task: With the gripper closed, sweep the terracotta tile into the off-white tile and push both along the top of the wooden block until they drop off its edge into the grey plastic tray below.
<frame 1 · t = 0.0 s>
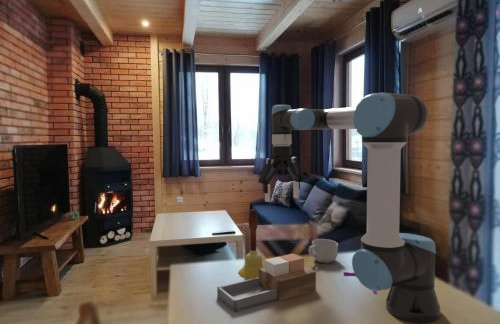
hand: (282, 199, 148), 28 cm above the table, tool pointing down, fingers open, 13 cm apart
tile rear: (291, 268, 134), point 6 cm above the table, touching wooden block
tray: (247, 298, 125), on the table
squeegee: (357, 279, 142), on the table
wooden block: (287, 288, 132), on the table
tile front: (276, 272, 130), point 6 cm above the table, touching wooden block
teacup: (321, 261, 159), on the table
handbell: (253, 273, 147), on the table
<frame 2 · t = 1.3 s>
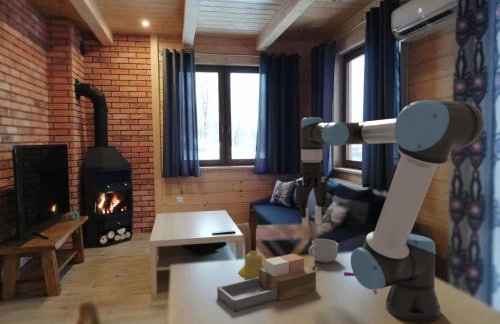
hand: (311, 225, 137), 21 cm above the table, tool pointing down, fingers open, 5 cm apart
nothing on the table moved.
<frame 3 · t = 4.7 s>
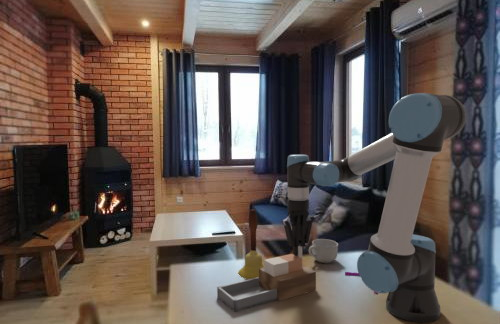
hand: (298, 263, 135), 8 cm above the table, tool pointing down, fingers closed
tile rear: (290, 268, 133), point 7 cm above the table, touching gripper, tile front
tile front: (276, 272, 130), point 7 cm above the table, touching tile rear
everything else where it was.
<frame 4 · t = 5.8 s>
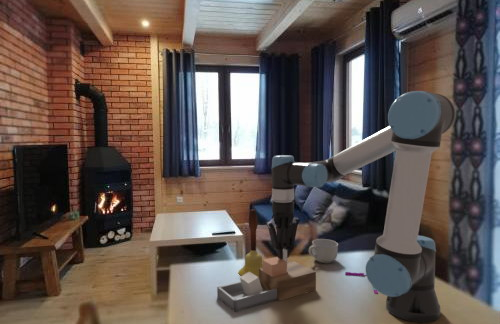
hand: (283, 267, 132), 8 cm above the table, tool pointing down, fingers closed
tile rear: (274, 272, 130), point 7 cm above the table, touching gripper
tile front: (256, 282, 126), point 5 cm above the table, tilted 107°, touching tray
everything else where it was.
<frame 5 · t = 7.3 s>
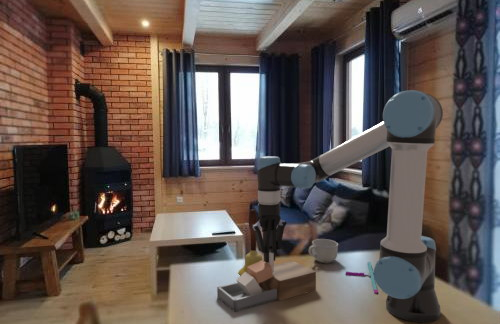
hand: (269, 270, 129), 7 cm above the table, tool pointing down, fingers closed
tile rear: (260, 277, 127), point 6 cm above the table, tilted 11°, touching wooden block, gripper, tile front
tile front: (253, 281, 126), point 5 cm above the table, tilted 121°, touching tile rear, tray
everything else where it was.
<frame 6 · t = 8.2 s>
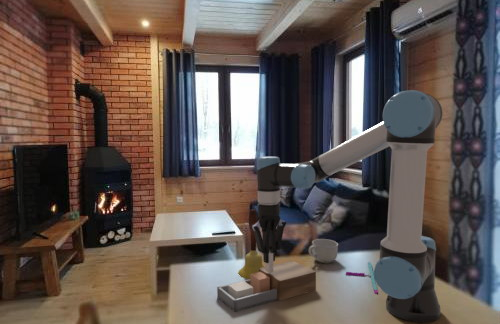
hand: (269, 271, 129), 7 cm above the table, tool pointing down, fingers closed
tile rear: (254, 285, 126), point 4 cm above the table, tilted 90°, touching tray
tile front: (240, 286, 123), point 5 cm above the table, tilted 180°, touching tray
everything else where it was.
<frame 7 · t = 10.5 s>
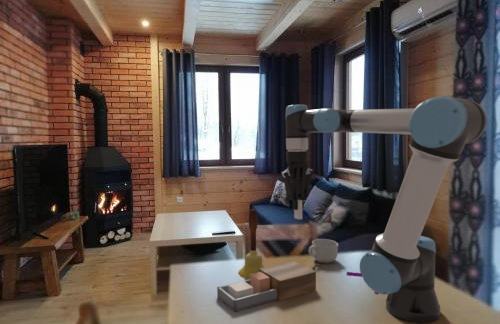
hand: (298, 218, 131), 25 cm above the table, tool pointing down, fingers closed
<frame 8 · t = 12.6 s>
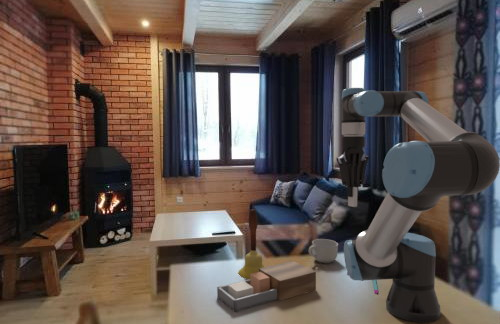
hand: (352, 206, 127), 29 cm above the table, tool pointing down, fingers closed
at the end: tile rear inside the target area (4.0 cm from its centre), point 3.6 cm above the table; tile front inside the target area (1.4 cm from its centre), point 4.6 cm above the table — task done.
